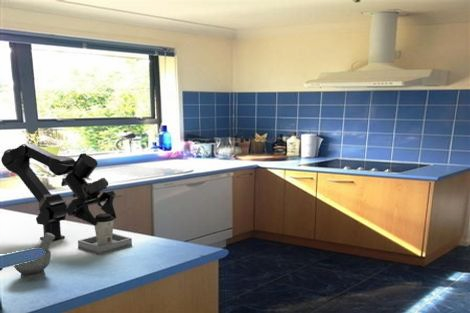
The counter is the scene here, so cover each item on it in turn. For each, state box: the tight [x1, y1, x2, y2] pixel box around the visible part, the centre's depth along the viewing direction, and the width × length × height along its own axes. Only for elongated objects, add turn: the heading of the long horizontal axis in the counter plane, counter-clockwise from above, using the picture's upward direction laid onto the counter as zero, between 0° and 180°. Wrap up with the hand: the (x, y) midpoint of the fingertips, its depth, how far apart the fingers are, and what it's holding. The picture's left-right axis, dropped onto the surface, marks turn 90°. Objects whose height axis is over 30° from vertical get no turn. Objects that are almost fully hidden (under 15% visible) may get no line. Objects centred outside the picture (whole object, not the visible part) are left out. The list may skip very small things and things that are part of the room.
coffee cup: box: [93, 213, 115, 246], centre depth 150 cm, size 7×7×10 cm
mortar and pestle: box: [13, 233, 55, 282], centre depth 123 cm, size 11×9×12 cm
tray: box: [77, 232, 133, 256], centre depth 150 cm, size 13×13×2 cm
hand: (106, 221), depth 149 cm, fingers open, 9 cm apart
